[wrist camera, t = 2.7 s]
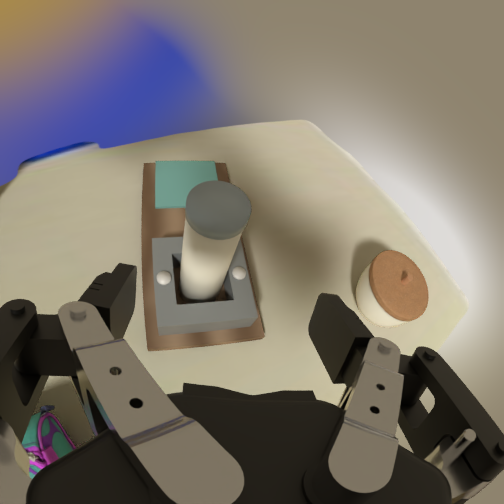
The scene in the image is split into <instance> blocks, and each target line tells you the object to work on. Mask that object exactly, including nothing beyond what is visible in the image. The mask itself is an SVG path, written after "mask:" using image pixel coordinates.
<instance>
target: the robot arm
mask: <svg viewBox="0 0 504 504" xmlns="http://www.w3.org/2000/svg"><path fill="white" fill-rule="evenodd" d="M136 276H137V267H136V266H133V265H128V264H122V263H119V264H118V265H117V266H116V268H115V269H114V270H113V272H112V273H108V272H105V273H103V274H101V275H99V276H97V277H96V278H95V280H94V281H93V282H92V284H91V285H90V286H89V287H88V288H87V290H86V291H85V292H84V294H83V295H82V296H81V297H80V299H79V300H78V301H75V302H69V303H66V304H64V305H63V306H62V307H60V309H59V311H58V314H56V315H45V314H37V311H36V306H35V305H34V303H32V302H31V301H29V300H25V299H16V300H11V301H9V302H7V303H5V304H4V305H3V306H2V307H1V308H0V504H464V503H465V502H466V501H467V500H469V499H470V498H472V497H474V496H475V495H476V494H478V493H479V492H480V491H481V490H482V489H484V488H485V487H486V486H487V485H488V484H489V483H491V482H492V481H493V480H494V479H495V478H496V476H497V475H498V474H499V473H500V472H501V471H502V470H504V434H503V433H502V432H501V430H500V429H499V428H498V426H497V425H496V424H495V422H494V421H493V420H492V418H491V417H490V416H489V414H488V413H487V412H486V411H485V409H484V408H483V407H482V405H481V404H480V403H479V402H478V400H477V399H476V398H475V397H474V396H473V394H472V393H471V392H470V390H469V389H468V388H467V387H466V385H465V384H464V383H463V382H462V381H461V379H460V378H459V377H458V376H457V375H456V373H455V372H454V371H453V370H452V369H451V368H450V366H449V365H448V364H447V363H446V362H445V361H444V359H443V358H442V357H441V356H440V355H439V354H438V353H437V352H435V351H434V350H432V349H430V348H427V347H417V348H416V350H415V352H414V354H413V355H412V356H407V355H402V354H400V349H399V348H398V346H397V345H395V344H394V343H393V342H391V341H389V340H387V339H384V338H380V337H374V336H373V335H372V333H371V332H370V331H369V330H368V328H367V327H366V326H365V325H364V324H363V322H362V321H361V320H360V319H359V317H358V316H357V315H356V313H355V312H354V311H352V310H351V309H350V308H348V307H347V306H346V305H345V303H344V302H343V301H342V300H341V298H340V297H339V296H338V295H335V294H327V293H321V294H320V295H319V297H318V299H317V302H316V305H315V308H314V311H313V314H312V317H311V320H310V323H309V336H310V338H311V340H312V342H313V344H314V346H315V348H316V350H317V352H318V354H319V356H320V358H321V360H322V362H323V364H324V366H325V368H326V370H327V372H328V374H329V376H330V378H331V380H332V382H333V384H340V383H345V384H346V388H345V390H344V392H343V394H342V396H341V399H340V401H339V403H338V405H337V406H336V405H333V404H331V403H328V402H325V401H321V400H316V398H315V395H314V393H313V391H278V392H272V393H266V394H260V395H248V394H243V393H239V392H235V391H231V390H228V389H224V388H220V387H215V386H206V385H197V384H189V383H184V384H183V392H180V393H172V394H167V395H166V394H165V393H164V392H163V390H162V389H161V388H160V387H159V385H158V384H157V383H156V382H155V380H154V379H153V378H152V376H151V375H150V374H149V372H148V371H147V370H146V368H145V367H144V366H143V364H142V363H141V362H140V360H139V359H138V357H137V356H136V355H135V353H134V352H133V350H132V349H131V348H130V346H129V345H128V343H127V342H126V340H125V339H123V337H124V334H125V332H126V329H127V327H128V324H129V322H130V320H131V317H132V315H133V312H134V307H135V297H136ZM49 376H69V377H70V380H71V382H72V385H73V387H74V389H75V392H76V394H77V396H78V398H79V401H80V403H81V405H82V407H83V409H84V411H85V413H86V416H87V418H88V421H89V423H90V426H91V428H92V431H93V433H94V435H95V437H94V438H92V439H90V440H89V441H87V442H86V443H84V444H82V445H81V446H79V447H77V448H76V449H74V450H73V451H71V452H69V453H68V454H66V455H64V456H63V457H61V458H59V459H57V460H56V461H54V462H52V463H51V464H49V465H47V466H46V467H44V468H43V469H41V470H40V471H39V472H38V473H37V474H36V475H35V476H34V477H33V479H32V478H30V475H29V467H30V460H29V456H28V454H27V452H26V450H25V449H24V447H23V446H22V441H23V438H24V435H25V433H26V430H27V427H28V425H29V422H30V419H31V417H32V414H33V412H34V409H35V407H36V404H37V402H38V400H39V397H40V395H41V393H42V390H43V388H44V386H45V384H46V381H47V379H48V377H49ZM427 387H428V389H429V390H430V391H431V393H432V394H433V396H434V398H435V405H434V408H433V409H432V410H431V412H430V413H429V414H428V412H427V410H426V409H425V407H424V406H423V404H422V403H421V401H420V400H419V398H420V397H421V395H422V394H423V392H424V391H425V389H426V388H427ZM397 423H398V424H399V426H400V428H401V429H402V431H403V433H404V435H405V437H406V439H407V440H408V443H409V445H410V447H411V448H412V450H413V452H414V453H412V452H410V451H409V450H407V449H405V448H404V447H402V446H400V445H399V444H398V439H397V438H396V437H395V433H396V428H397Z"/></svg>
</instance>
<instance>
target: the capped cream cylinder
mask: <svg viewBox="0 0 504 504" xmlns="http://www.w3.org/2000/svg"><path fill="white" fill-rule="evenodd" d="M250 214H251V203H250V200H249V198H248V197H247V195H246V194H245V193H244V192H243V191H242V190H241V189H240V188H238V187H237V186H235V185H233V184H231V183H228V182H224V181H216V180H213V181H206V182H202V183H200V184H198V185H196V186H195V187H193V188H192V189H191V191H190V192H189V194H188V196H187V199H186V207H185V216H186V218H185V227H184V236H183V247H182V257H181V269H180V282H179V292H180V296H181V298H182V299H183V300H184V302H186V303H187V304H194V303H206V302H215V301H216V299H217V298H218V295H219V292H220V290H221V287H222V284H223V282H224V279H225V276H226V274H227V271H228V269H229V266H230V263H231V261H232V258H233V255H234V253H235V250H236V247H237V245H238V242H239V240H240V237H241V234H242V232H243V230H244V229H245V227H246V225H247V222H248V220H249V217H250Z"/></svg>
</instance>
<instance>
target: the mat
mask: <svg viewBox="0 0 504 504" xmlns="http://www.w3.org/2000/svg"><path fill="white" fill-rule="evenodd" d="M213 180H216V181H218V178H217V173H216V167H215V162H214V161H156V170H155V209H160V208H185V207H186V199H187V196H188V194H189V192H190V191H191V189H192V188H193V187H195V186H196V185H198V184H200V183H202V182H206V181H213Z"/></svg>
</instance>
